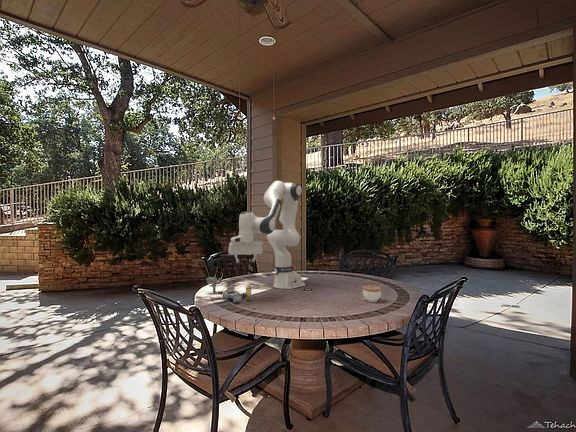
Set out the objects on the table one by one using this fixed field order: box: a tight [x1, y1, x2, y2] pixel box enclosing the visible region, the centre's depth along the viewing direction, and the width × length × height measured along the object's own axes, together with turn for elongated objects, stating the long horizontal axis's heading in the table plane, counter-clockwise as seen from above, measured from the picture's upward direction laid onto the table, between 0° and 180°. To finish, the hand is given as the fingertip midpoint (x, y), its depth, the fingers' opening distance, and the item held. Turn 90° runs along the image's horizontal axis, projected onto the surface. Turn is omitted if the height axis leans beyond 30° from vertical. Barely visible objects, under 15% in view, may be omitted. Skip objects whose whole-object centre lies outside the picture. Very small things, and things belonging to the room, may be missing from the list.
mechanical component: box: [205, 276, 223, 295], centre depth 215 cm, size 3×10×10 cm, turn 79°
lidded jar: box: [362, 284, 382, 303], centre depth 196 cm, size 11×11×9 cm
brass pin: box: [245, 285, 252, 302], centre depth 198 cm, size 3×3×8 cm
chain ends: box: [222, 289, 246, 305], centre depth 200 cm, size 16×16×4 cm
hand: (245, 262), depth 199 cm, fingers open, 8 cm apart
